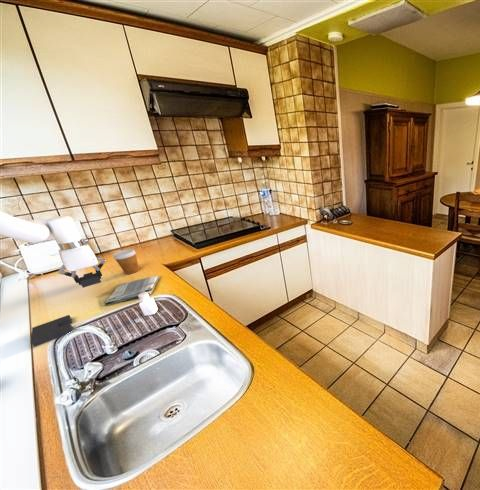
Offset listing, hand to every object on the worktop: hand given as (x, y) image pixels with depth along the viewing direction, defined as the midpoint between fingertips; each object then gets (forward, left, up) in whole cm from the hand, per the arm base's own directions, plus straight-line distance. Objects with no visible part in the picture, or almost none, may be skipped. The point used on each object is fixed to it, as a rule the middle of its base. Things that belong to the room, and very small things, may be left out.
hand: (90, 280), depth 121 cm
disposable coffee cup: (+15, +21, -10) cm, 28 cm away
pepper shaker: (+13, -35, -10) cm, 39 cm away
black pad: (0, +2, -1) cm, 2 cm away
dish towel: (+12, -7, -10) cm, 17 cm away
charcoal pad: (-15, -20, -10) cm, 26 cm away
